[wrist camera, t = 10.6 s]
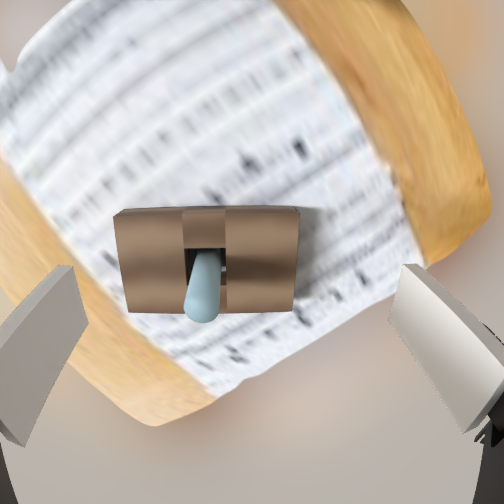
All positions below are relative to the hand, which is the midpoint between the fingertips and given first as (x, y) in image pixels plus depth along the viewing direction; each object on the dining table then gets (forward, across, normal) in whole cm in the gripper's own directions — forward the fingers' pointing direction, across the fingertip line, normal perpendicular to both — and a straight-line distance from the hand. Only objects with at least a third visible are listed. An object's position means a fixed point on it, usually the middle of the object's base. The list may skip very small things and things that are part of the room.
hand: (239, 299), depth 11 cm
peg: (+23, -3, -8) cm, 25 cm away
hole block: (+23, -3, -8) cm, 25 cm away
